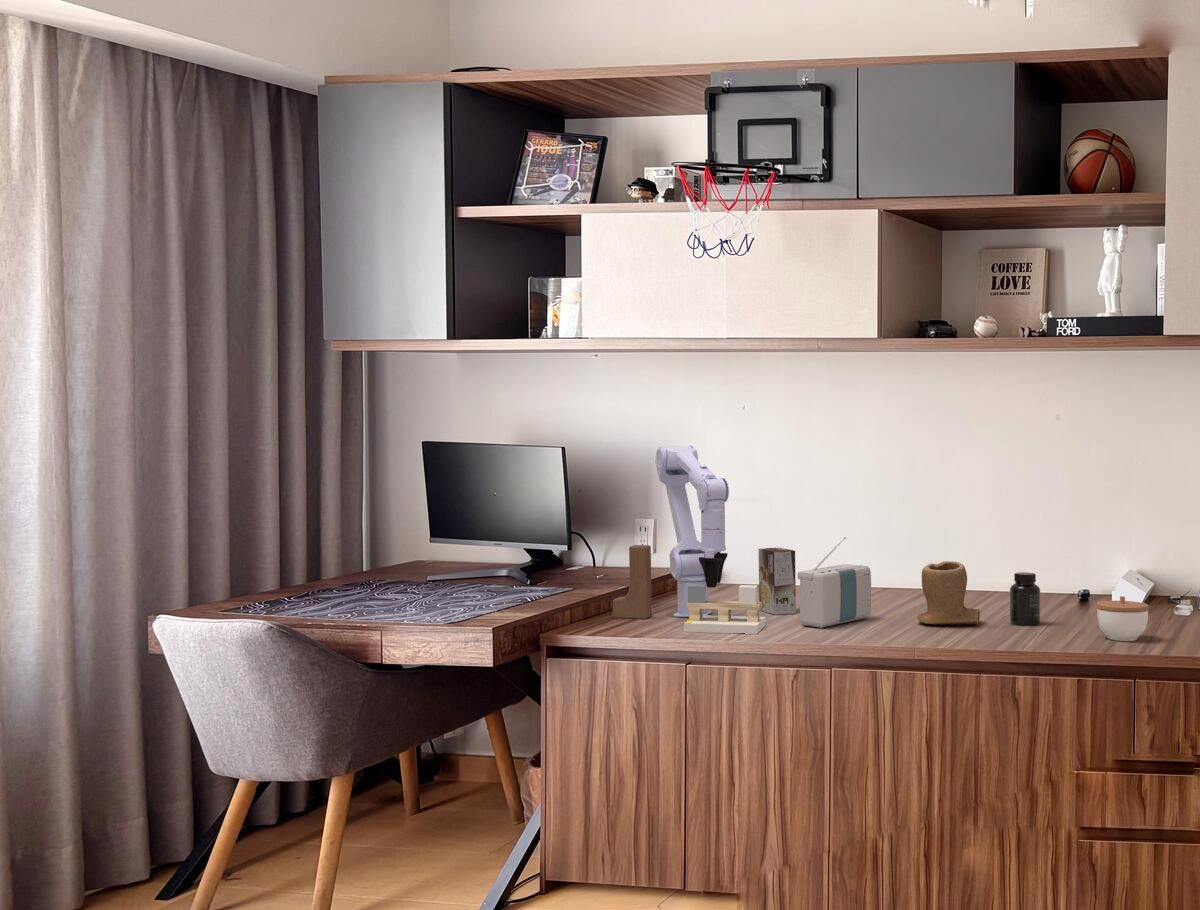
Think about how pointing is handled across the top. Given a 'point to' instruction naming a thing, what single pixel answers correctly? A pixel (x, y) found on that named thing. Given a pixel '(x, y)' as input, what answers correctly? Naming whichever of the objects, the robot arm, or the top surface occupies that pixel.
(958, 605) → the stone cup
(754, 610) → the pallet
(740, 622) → the dock
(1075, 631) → the top surface
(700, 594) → the pale grey square box
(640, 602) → the wooden block
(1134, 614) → the lidded jar
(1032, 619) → the supplement bottle
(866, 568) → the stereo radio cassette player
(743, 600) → the greyish beige cube
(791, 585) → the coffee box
